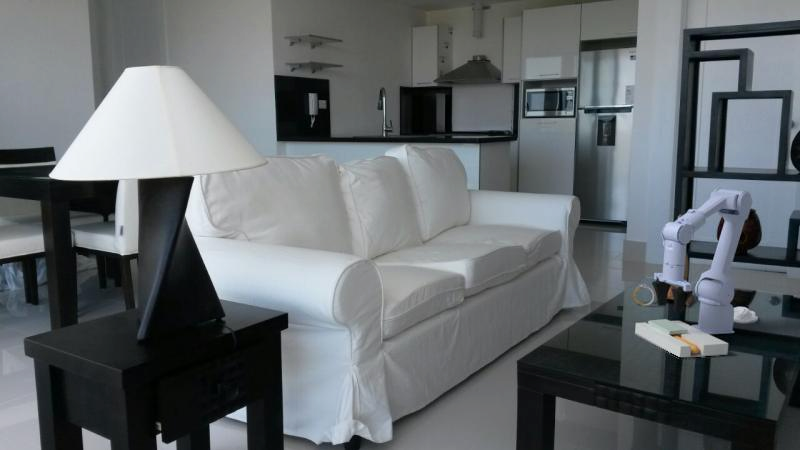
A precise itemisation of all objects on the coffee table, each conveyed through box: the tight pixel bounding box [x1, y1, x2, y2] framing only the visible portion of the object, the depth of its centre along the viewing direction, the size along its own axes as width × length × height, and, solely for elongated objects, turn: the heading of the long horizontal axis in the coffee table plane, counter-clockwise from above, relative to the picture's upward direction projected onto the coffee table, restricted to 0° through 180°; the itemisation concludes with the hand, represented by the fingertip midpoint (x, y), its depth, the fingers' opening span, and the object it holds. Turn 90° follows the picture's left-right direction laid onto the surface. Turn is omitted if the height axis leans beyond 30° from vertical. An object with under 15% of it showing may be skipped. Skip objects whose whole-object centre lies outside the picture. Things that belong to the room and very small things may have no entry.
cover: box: [647, 318, 688, 335], centre depth 188 cm, size 6×10×1 cm, turn 13°
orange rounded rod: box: [670, 334, 699, 354], centre depth 181 cm, size 2×12×2 cm, turn 13°
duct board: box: [634, 320, 729, 358], centre depth 185 cm, size 15×21×4 cm
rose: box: [733, 306, 759, 325], centre depth 211 cm, size 10×4×10 cm
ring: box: [632, 282, 656, 307], centre depth 224 cm, size 7×3×8 cm, turn 57°
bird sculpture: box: [655, 213, 695, 308], centre depth 228 cm, size 11×12×32 cm
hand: (669, 308), depth 188 cm, fingers open, 7 cm apart
